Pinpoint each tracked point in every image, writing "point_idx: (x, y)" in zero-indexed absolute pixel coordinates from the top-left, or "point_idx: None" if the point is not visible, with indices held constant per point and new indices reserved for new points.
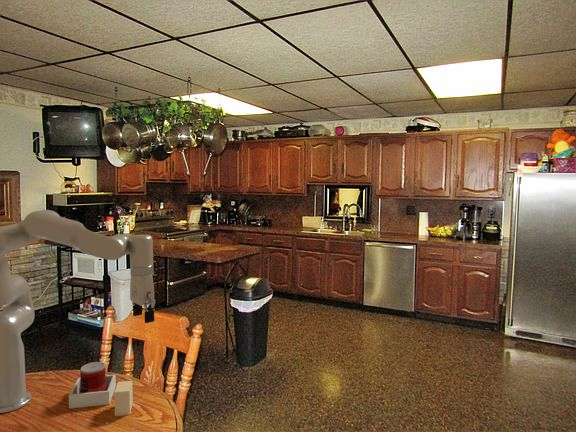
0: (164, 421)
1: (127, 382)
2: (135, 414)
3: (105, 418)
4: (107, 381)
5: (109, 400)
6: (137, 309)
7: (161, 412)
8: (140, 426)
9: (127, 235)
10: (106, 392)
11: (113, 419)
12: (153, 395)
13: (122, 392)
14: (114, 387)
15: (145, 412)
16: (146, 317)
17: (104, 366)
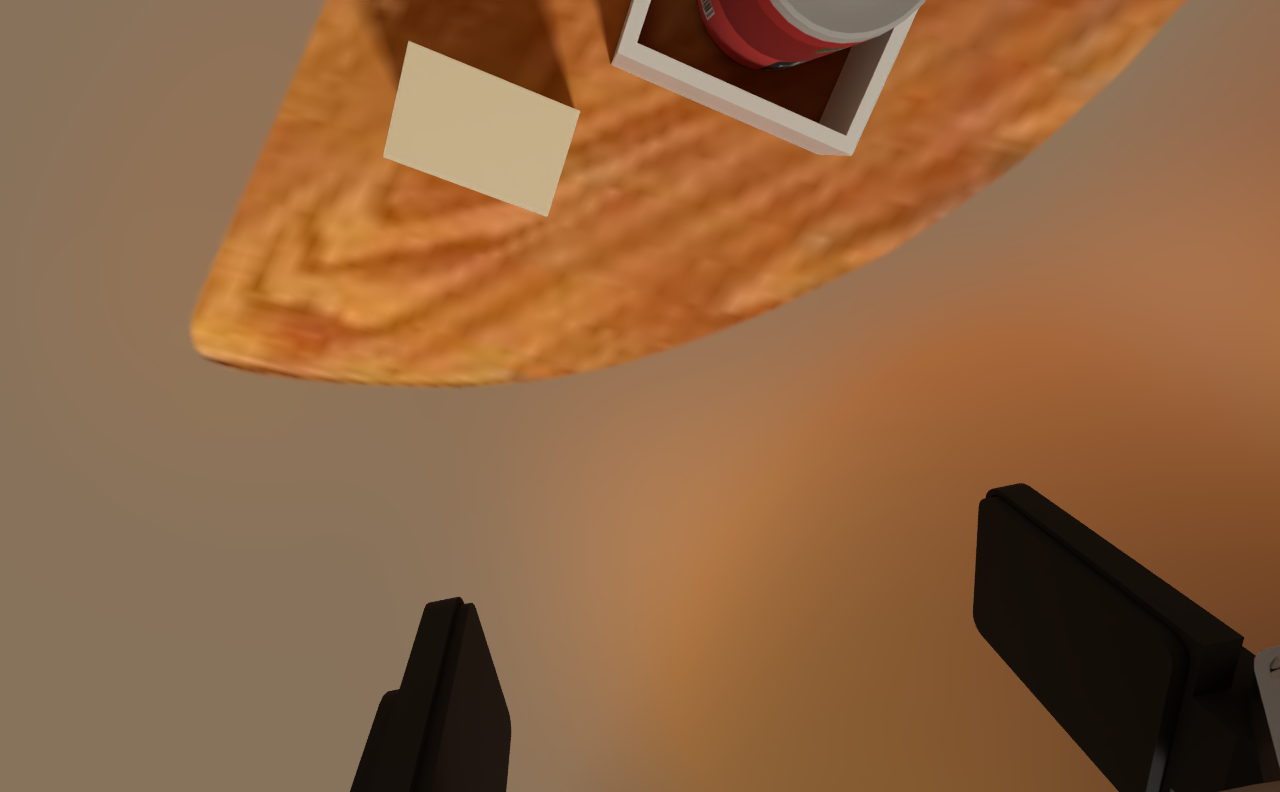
0: (263, 311)
1: (532, 175)
2: (410, 185)
3: (446, 2)
4: (847, 97)
5: (617, 64)
6: (1066, 637)
7: (366, 321)
8: (261, 180)
9: None
10: (623, 34)
11: None
12: (577, 329)
13: (395, 104)
14: (780, 136)
15: (406, 243)
16: (408, 711)
17: (803, 25)
